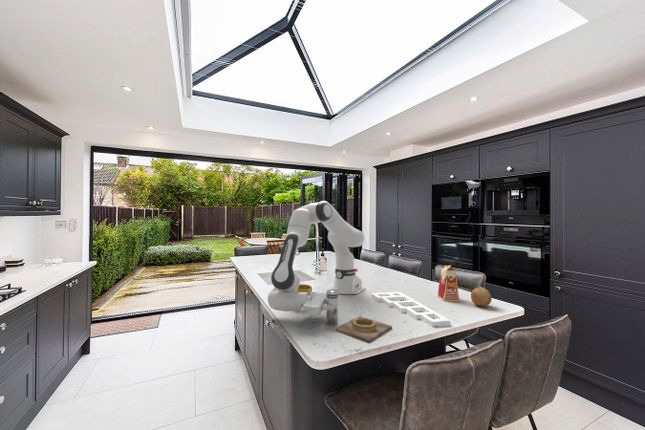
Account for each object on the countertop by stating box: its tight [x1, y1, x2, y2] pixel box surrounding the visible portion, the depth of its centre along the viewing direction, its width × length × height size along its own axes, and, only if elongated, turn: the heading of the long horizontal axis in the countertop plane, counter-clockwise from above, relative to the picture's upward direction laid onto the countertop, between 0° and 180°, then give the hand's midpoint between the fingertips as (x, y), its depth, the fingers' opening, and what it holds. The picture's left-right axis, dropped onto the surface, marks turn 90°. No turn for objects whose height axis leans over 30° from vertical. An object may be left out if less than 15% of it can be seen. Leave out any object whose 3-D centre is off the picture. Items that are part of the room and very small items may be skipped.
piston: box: [325, 288, 339, 326], centre depth 121 cm, size 5×5×14 cm
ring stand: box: [334, 316, 393, 344], centre depth 115 cm, size 18×16×3 cm
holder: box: [371, 291, 451, 328], centre depth 140 cm, size 45×18×3 cm, turn 13°
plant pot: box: [298, 283, 313, 292], centre depth 143 cm, size 10×10×10 cm
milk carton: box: [437, 264, 461, 302], centre depth 159 cm, size 9×9×20 cm
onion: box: [470, 286, 492, 308], centre depth 147 cm, size 10×10×10 cm
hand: (334, 304), depth 121 cm, fingers closed on piston, 5 cm apart
